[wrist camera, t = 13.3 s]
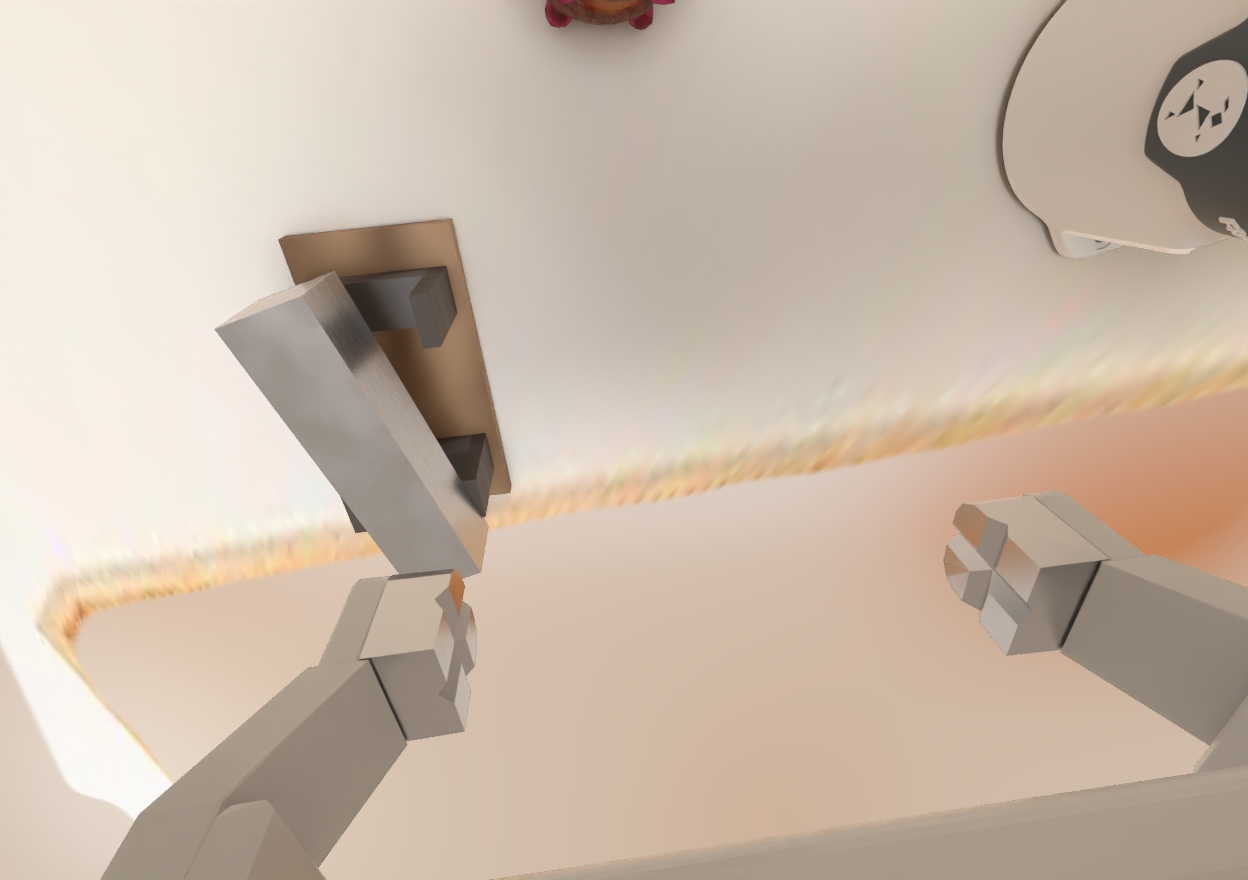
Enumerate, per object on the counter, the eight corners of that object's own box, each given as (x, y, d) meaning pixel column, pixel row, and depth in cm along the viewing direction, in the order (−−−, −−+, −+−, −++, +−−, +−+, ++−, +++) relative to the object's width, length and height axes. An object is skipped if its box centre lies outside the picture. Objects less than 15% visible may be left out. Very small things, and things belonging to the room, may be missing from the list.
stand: (451, 219, 35) (429, 243, 29) (511, 485, 45) (503, 544, 39) (285, 236, 35) (228, 264, 29) (383, 501, 45) (356, 562, 39)
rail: (258, 300, 30) (214, 329, 26) (334, 270, 29) (302, 295, 26) (428, 546, 39) (414, 594, 35) (488, 526, 39) (480, 572, 35)
